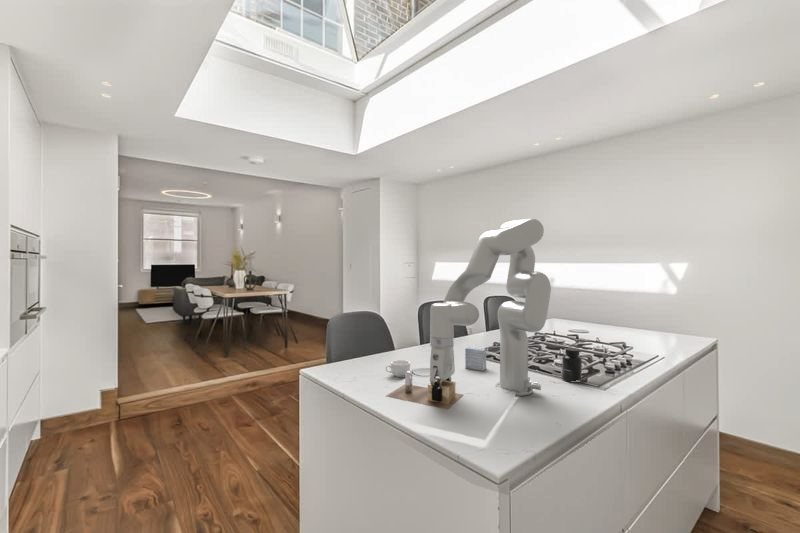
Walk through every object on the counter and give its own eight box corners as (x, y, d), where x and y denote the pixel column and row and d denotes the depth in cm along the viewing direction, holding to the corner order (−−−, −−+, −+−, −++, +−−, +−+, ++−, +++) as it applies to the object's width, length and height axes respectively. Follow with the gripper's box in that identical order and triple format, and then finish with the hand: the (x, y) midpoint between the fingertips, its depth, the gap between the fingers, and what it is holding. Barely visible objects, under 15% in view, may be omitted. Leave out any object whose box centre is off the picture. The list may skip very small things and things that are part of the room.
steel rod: (413, 391, 127) (413, 370, 126) (410, 393, 124) (410, 372, 124) (407, 390, 128) (407, 369, 128) (403, 392, 126) (403, 371, 126)
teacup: (407, 372, 154) (407, 359, 154) (412, 377, 146) (412, 364, 146) (383, 373, 151) (383, 360, 151) (387, 379, 144) (387, 365, 144)
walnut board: (463, 399, 124) (463, 394, 124) (447, 414, 112) (447, 409, 112) (405, 387, 135) (405, 383, 135) (385, 400, 122) (385, 396, 122)
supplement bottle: (562, 381, 142) (562, 350, 141) (561, 376, 148) (562, 346, 148) (582, 384, 139) (582, 352, 139) (580, 378, 145) (581, 348, 145)
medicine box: (486, 368, 159) (486, 348, 159) (482, 371, 155) (482, 350, 155) (469, 365, 163) (469, 346, 163) (465, 368, 159) (465, 348, 159)
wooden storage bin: (455, 397, 122) (455, 381, 121) (447, 404, 116) (447, 388, 116) (436, 393, 125) (436, 378, 125) (427, 400, 119) (427, 384, 119)
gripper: (442, 348, 110) (441, 408, 111) (462, 338, 126) (462, 390, 126) (419, 345, 114) (419, 403, 114) (441, 335, 129) (441, 386, 130)
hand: (441, 396), depth 120 cm, fingers closed on wooden storage bin, 6 cm apart
